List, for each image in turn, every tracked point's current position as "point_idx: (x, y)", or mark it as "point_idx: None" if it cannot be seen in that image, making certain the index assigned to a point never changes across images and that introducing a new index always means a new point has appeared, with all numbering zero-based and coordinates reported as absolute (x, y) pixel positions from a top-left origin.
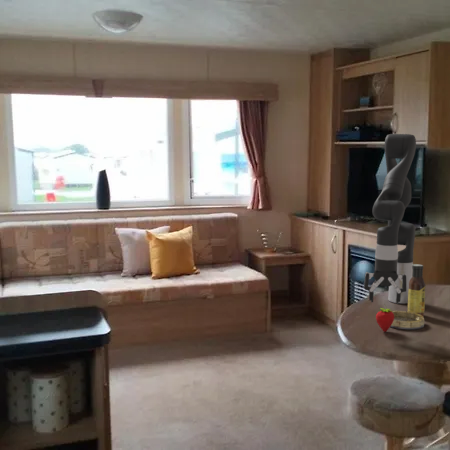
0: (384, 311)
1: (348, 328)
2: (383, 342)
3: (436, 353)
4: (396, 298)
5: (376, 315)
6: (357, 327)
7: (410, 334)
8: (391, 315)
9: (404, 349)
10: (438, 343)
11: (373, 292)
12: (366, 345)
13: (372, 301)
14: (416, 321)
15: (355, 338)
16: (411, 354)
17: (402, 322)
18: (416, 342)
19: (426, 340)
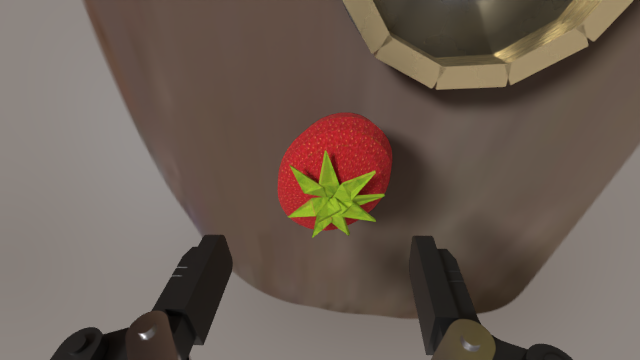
0: (324, 210)
1: (163, 121)
2: (327, 245)
3: (488, 297)
4: (416, 302)
5: (280, 200)
6: (198, 94)
7: (461, 143)
8: (368, 212)
9: (392, 284)
10: (546, 225)
11: (203, 344)
12: (273, 273)
13: (226, 271)
14: (560, 51)
15: (226, 227)
16: (405, 310)
17: (449, 88)
18: (454, 228)
19: (508, 203)
